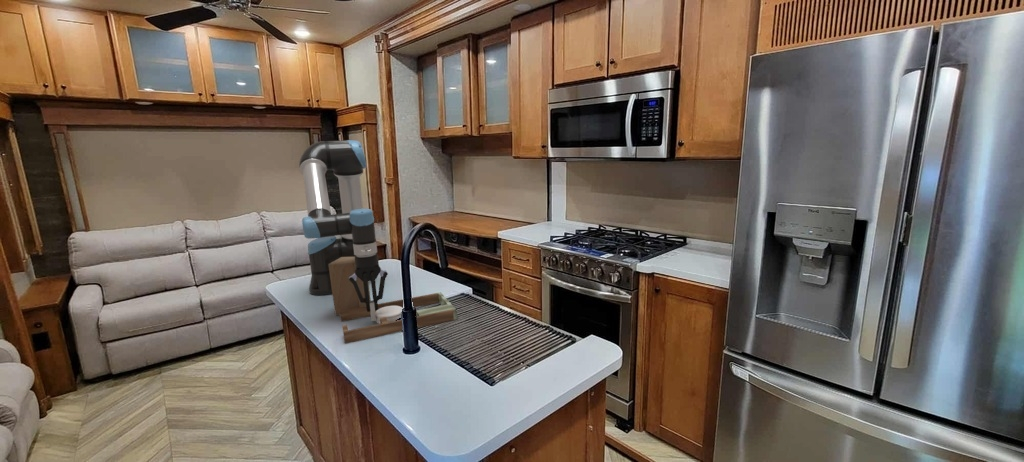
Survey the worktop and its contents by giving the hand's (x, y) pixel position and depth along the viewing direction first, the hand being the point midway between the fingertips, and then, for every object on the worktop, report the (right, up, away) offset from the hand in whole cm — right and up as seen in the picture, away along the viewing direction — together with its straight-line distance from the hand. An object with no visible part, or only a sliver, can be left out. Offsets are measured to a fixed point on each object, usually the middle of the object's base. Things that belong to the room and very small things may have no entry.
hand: (373, 319), depth 149 cm
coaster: (+5, -1, +4) cm, 6 cm away
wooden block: (-12, +1, +13) cm, 18 cm away
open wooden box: (+8, -1, +2) cm, 8 cm away
